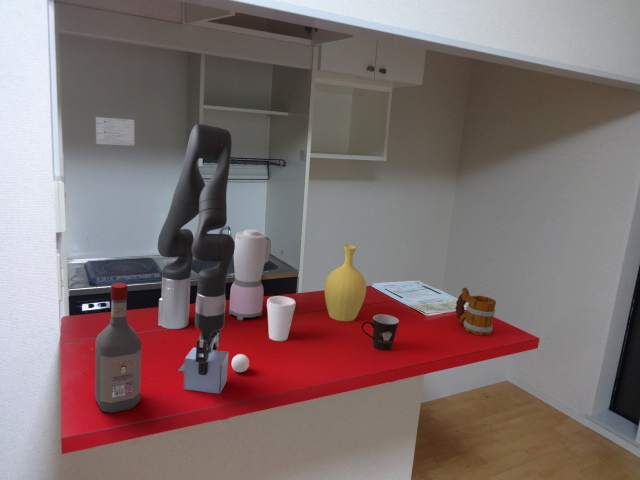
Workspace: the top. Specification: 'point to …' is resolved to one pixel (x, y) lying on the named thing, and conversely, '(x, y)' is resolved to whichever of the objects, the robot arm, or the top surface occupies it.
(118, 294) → the liquor
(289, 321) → the foam cup
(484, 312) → the mug
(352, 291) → the vase
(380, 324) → the coffee mug
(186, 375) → the periwinkle rectangular block
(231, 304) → the blender
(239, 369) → the ball
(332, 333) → the top surface
